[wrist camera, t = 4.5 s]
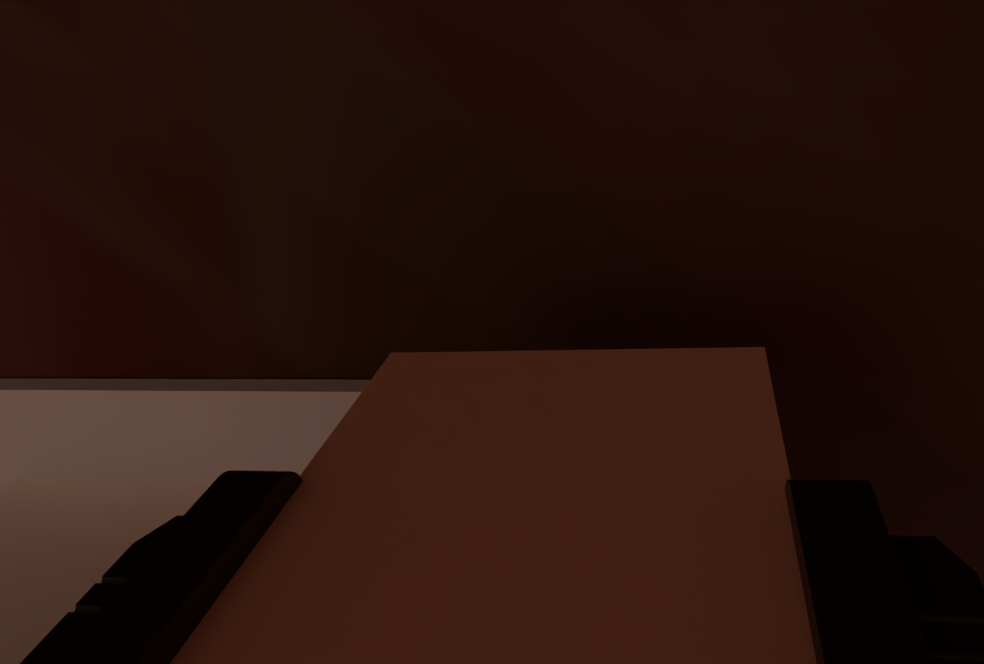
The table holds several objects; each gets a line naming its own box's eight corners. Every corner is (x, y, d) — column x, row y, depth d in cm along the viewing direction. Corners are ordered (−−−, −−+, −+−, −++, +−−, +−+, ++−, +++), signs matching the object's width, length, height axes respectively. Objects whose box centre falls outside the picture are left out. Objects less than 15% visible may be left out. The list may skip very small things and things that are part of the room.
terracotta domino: (764, 346, 12) (1039, 1711, 3) (763, 457, 12) (983, 1886, 3) (391, 352, 13) (-336, 1330, 4) (406, 453, 13) (-189, 1514, 4)
